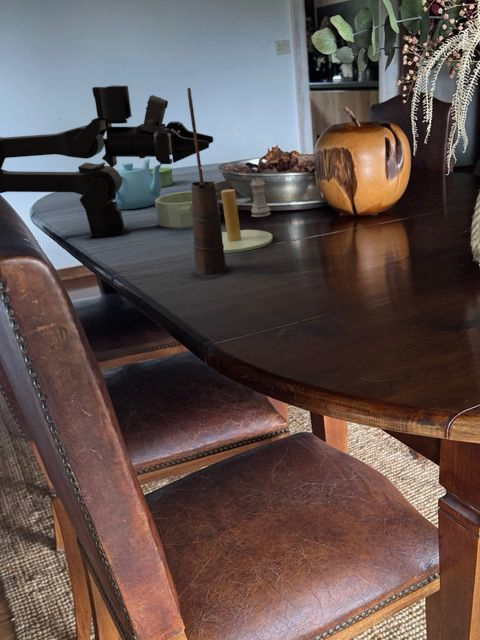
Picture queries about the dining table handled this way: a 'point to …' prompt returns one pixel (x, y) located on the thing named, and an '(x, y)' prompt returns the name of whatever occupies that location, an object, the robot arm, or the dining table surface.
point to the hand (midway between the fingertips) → (211, 141)
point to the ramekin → (164, 176)
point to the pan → (175, 209)
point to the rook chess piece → (259, 199)
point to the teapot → (138, 186)
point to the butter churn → (205, 219)
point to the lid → (234, 236)
